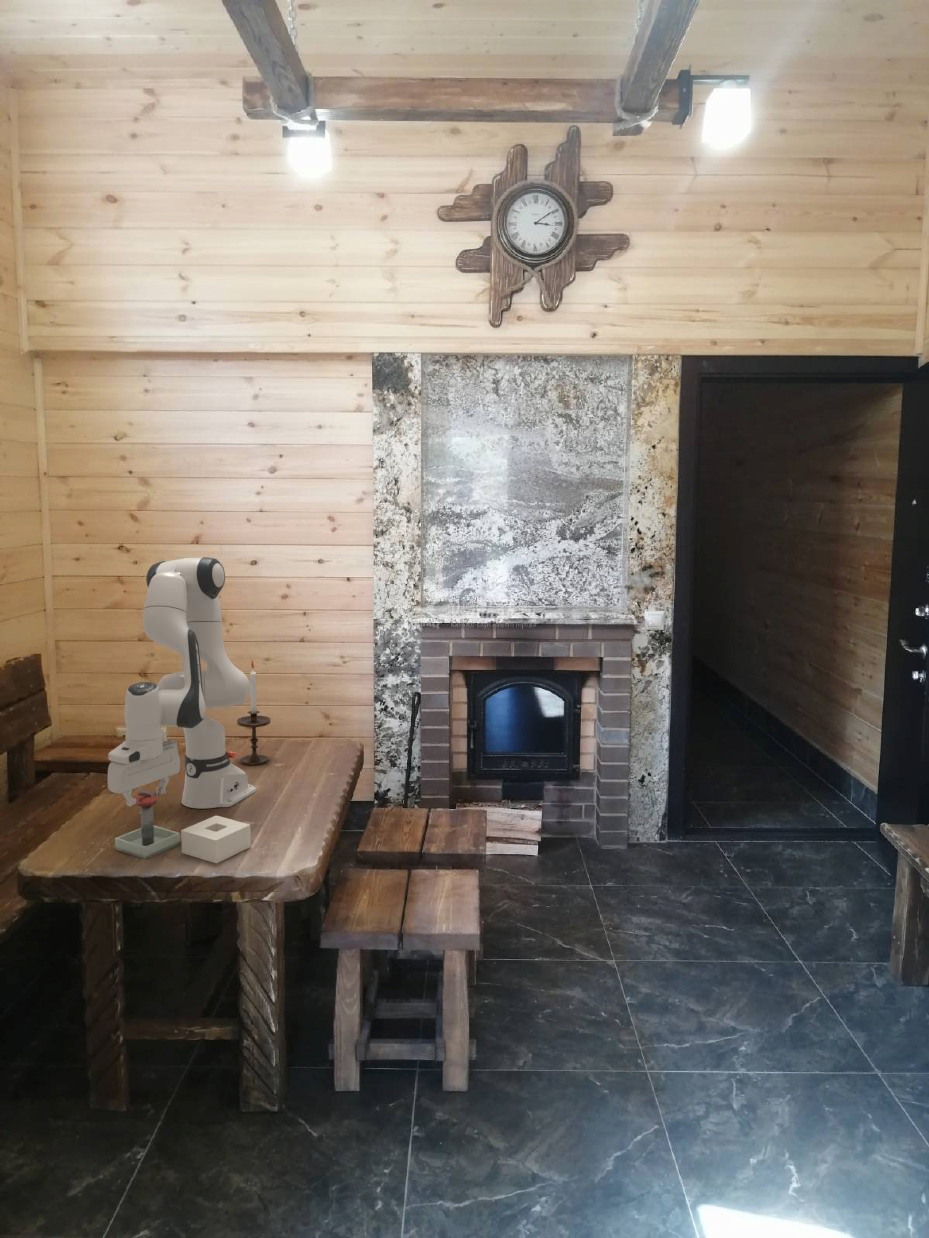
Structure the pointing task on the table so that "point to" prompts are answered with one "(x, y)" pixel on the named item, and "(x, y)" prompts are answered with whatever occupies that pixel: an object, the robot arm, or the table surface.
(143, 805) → the red disc rod
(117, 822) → the table surface
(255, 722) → the candlestick
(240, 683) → the robot arm
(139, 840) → the tray
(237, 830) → the block
